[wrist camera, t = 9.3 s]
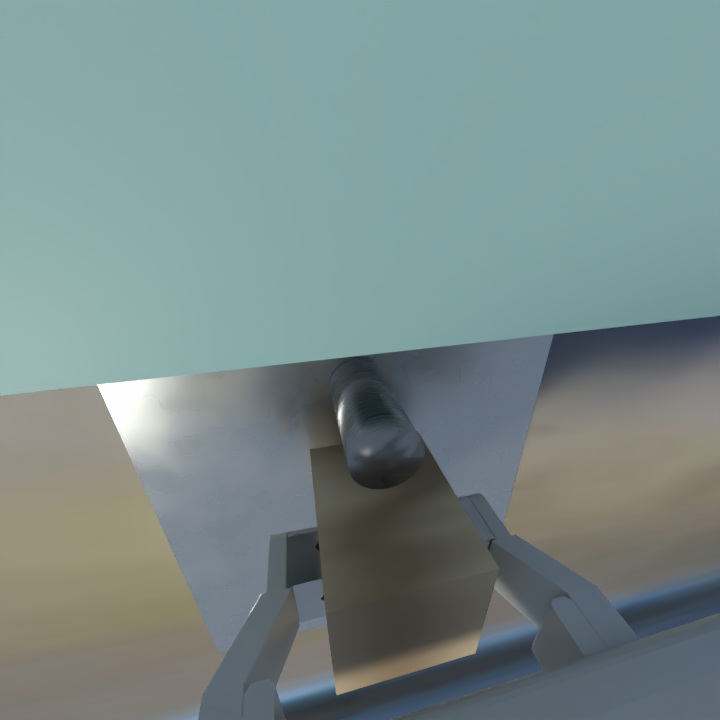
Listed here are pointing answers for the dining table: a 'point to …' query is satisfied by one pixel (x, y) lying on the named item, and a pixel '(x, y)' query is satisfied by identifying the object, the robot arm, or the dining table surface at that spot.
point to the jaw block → (397, 572)
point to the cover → (346, 178)
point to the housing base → (309, 431)
